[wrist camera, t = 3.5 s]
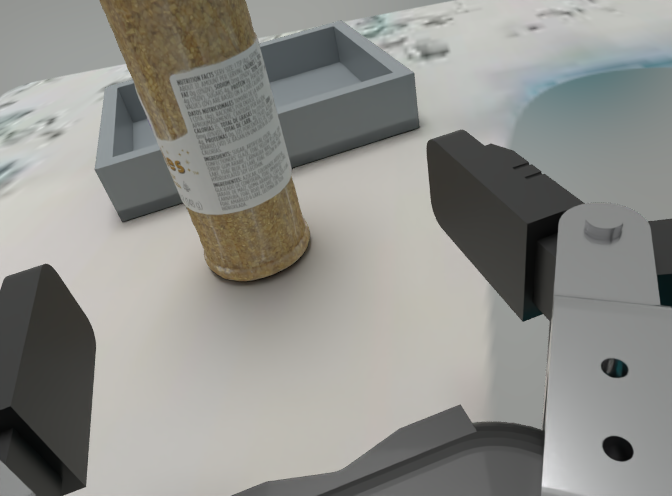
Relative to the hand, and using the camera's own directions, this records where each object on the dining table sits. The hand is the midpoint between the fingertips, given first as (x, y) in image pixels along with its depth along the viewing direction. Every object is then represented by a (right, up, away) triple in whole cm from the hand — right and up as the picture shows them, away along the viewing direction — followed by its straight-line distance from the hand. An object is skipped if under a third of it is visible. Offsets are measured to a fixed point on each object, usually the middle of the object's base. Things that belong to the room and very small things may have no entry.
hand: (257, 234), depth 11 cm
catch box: (-3, +7, +21) cm, 22 cm away
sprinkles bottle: (-1, -1, +12) cm, 12 cm away
